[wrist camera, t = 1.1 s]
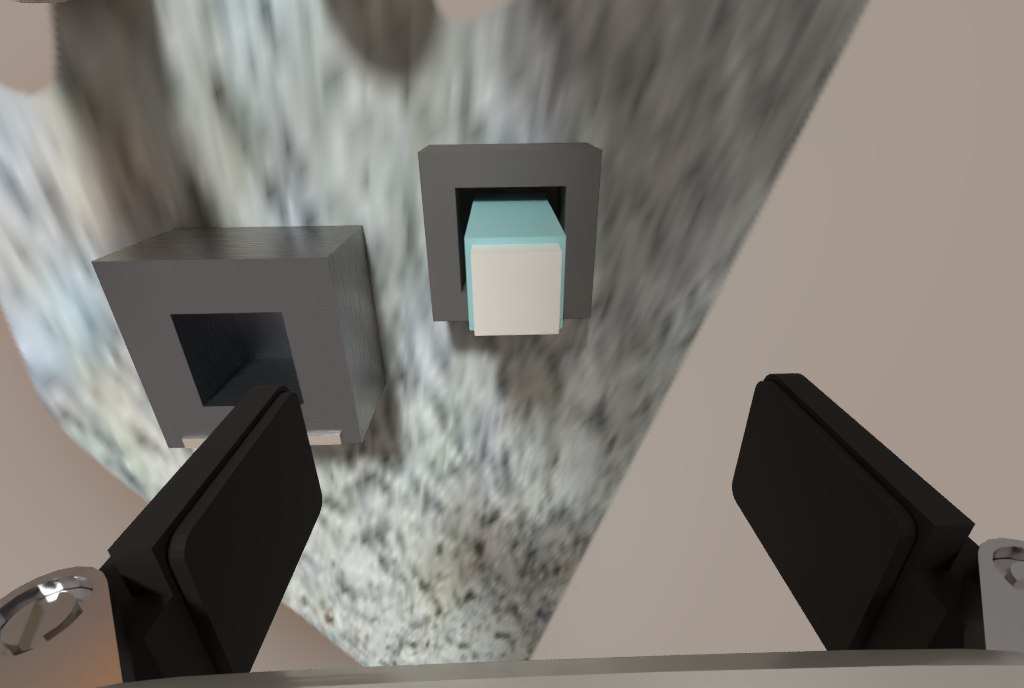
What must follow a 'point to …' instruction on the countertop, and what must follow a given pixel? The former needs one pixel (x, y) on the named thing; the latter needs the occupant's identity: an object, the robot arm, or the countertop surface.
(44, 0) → the plastic bottle
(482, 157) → the grey square socket
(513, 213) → the plug
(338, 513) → the countertop surface
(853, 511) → the robot arm
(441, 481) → the countertop surface
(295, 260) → the port block
